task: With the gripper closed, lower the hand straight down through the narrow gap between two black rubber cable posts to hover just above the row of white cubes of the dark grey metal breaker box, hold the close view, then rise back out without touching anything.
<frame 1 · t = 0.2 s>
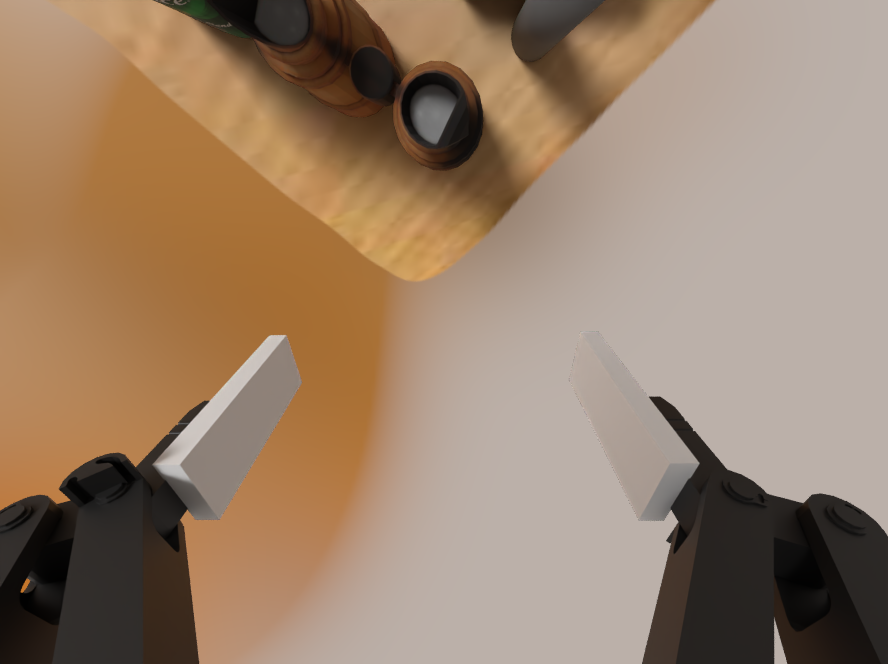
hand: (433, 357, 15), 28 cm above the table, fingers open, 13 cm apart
post 1: (532, 33, 30), on the table
binoculars: (399, 97, 32), on the table
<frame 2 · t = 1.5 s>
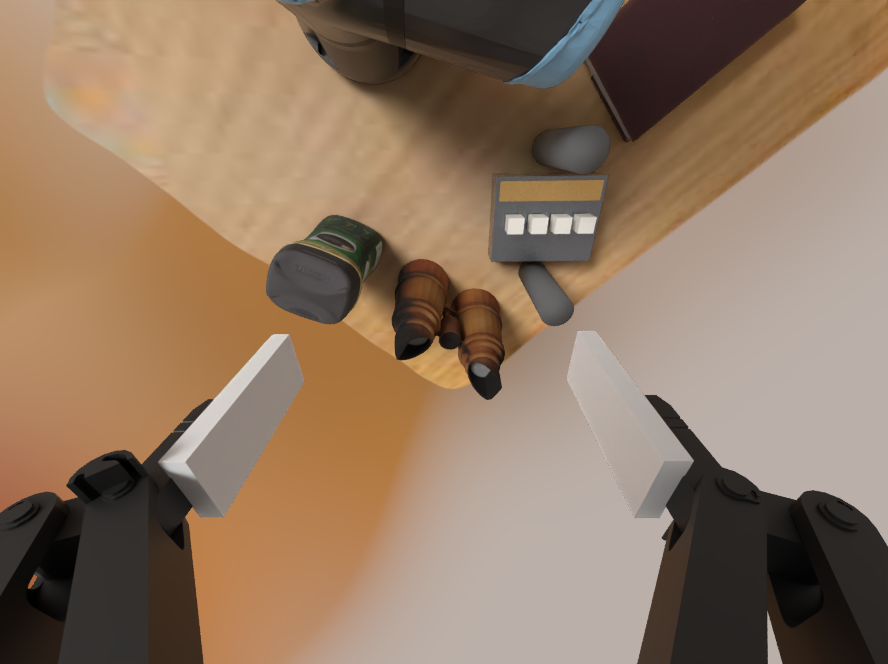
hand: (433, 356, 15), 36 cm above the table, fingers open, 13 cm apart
coffee jar: (352, 244, 49), on the table
row of white cubes: (548, 223, 41), point 6 cm above the table, hinge at 0.0°
post 1: (531, 271, 50), on the table
binoculars: (449, 297, 53), on the table
breaker box: (538, 215, 46), on the table
post 2: (547, 147, 42), on the table
book: (676, 31, 36), on the table
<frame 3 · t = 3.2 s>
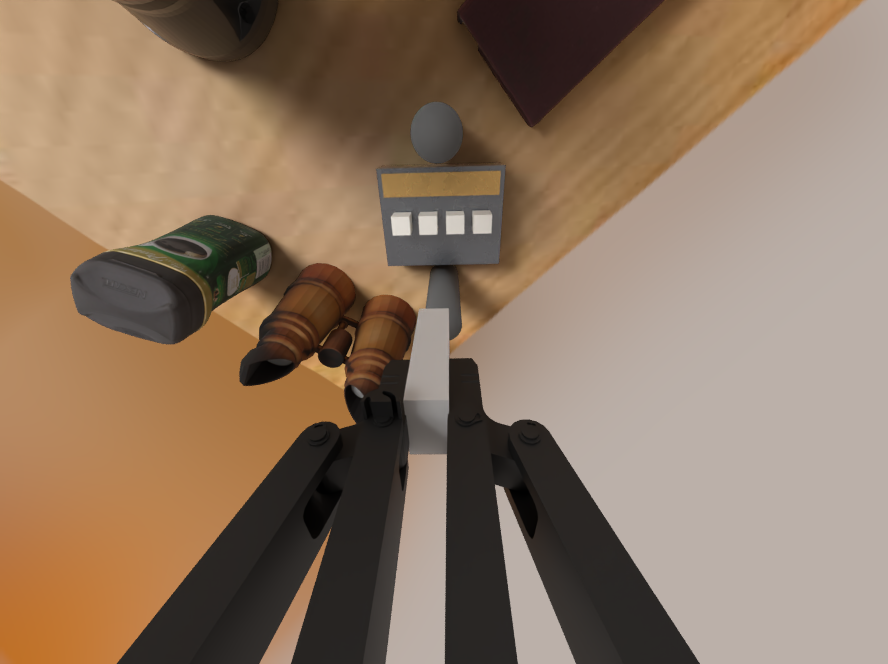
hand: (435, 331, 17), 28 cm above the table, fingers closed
coffee jar: (239, 247, 44), on the table
row of white cubes: (441, 222, 36), point 6 cm above the table, hinge at 0.0°
post 1: (444, 275, 45), on the table
binoculars: (359, 304, 48), on the table
breaker box: (442, 212, 41), on the table
post 2: (440, 134, 36), on the table
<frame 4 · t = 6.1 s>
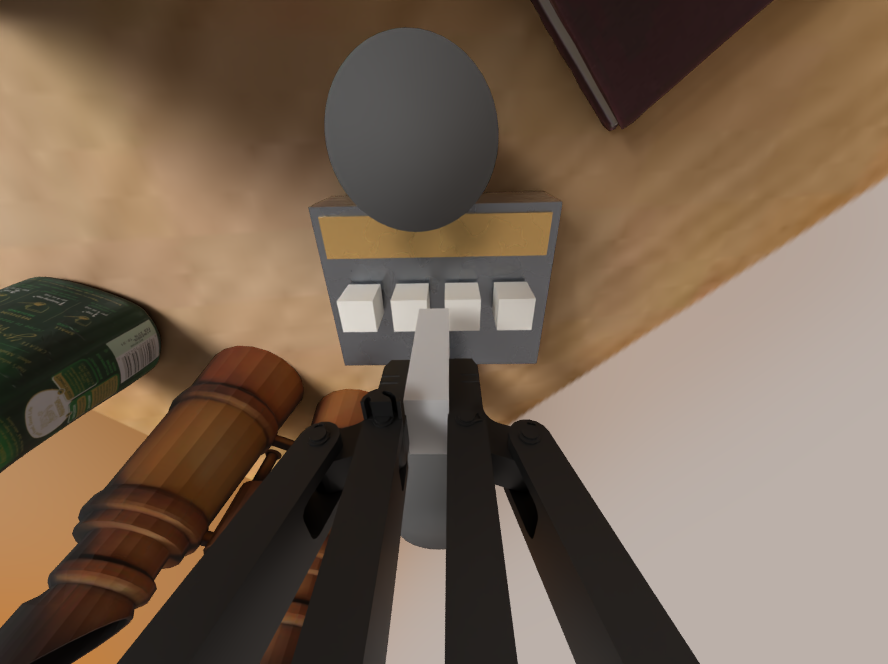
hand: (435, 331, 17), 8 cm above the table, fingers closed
coffee jar: (108, 322, 27), on the table
row of white cubes: (436, 306, 19), point 6 cm above the table, hinge at 0.0°
post 1: (442, 363, 28), on the table
binoculars: (310, 400, 31), on the table
breaker box: (439, 273, 24), on the table
post 2: (434, 140, 19), on the table
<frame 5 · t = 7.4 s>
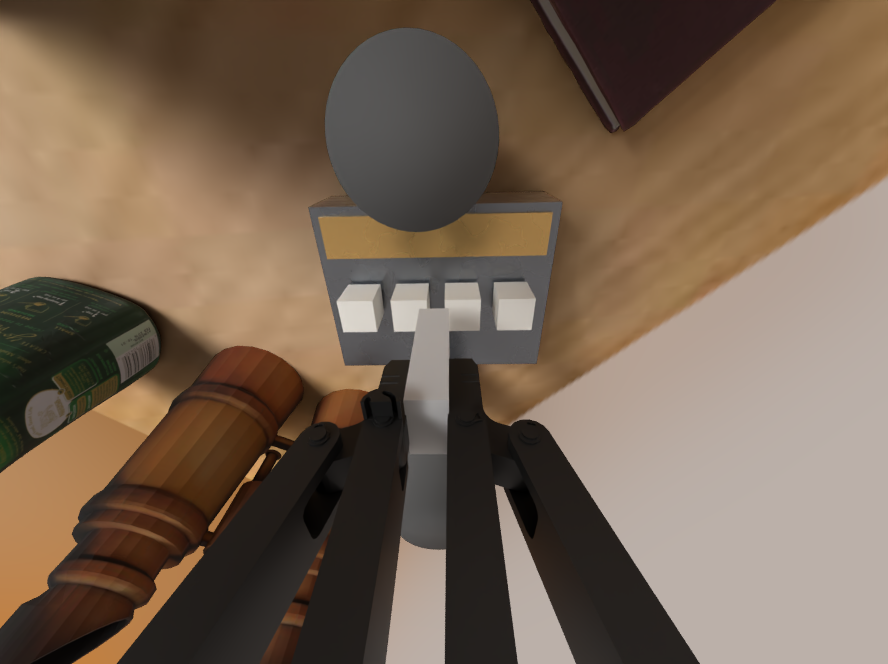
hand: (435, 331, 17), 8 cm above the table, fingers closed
coffee jar: (108, 322, 27), on the table
row of white cubes: (436, 306, 19), point 6 cm above the table, hinge at 0.0°
post 1: (442, 363, 28), on the table
binoculars: (310, 400, 31), on the table
breaker box: (439, 273, 24), on the table
post 2: (434, 140, 19), on the table
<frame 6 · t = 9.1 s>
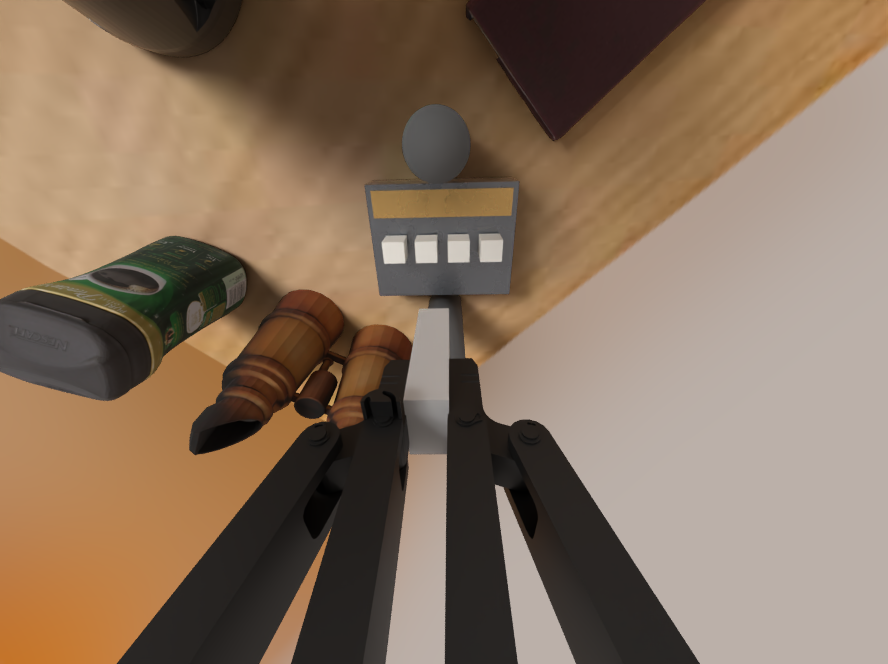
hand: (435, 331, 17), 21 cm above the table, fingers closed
coffee jar: (210, 271, 38), on the table
row of white cubes: (442, 248, 30), point 6 cm above the table, hinge at 0.0°
post 1: (445, 303, 39), on the table
binoculars: (348, 334, 42), on the table
breaker box: (443, 233, 35), on the table
post 2: (441, 144, 31), on the table
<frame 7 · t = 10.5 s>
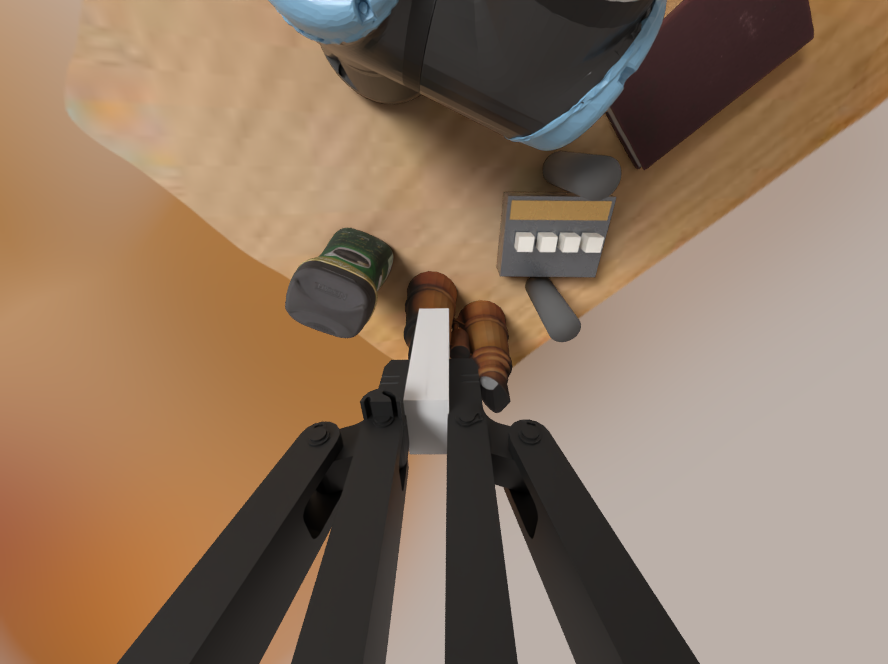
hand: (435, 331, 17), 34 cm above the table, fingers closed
coffee jar: (363, 255, 50), on the table
row of white cubes: (557, 242, 43), point 6 cm above the table, hinge at 0.0°
post 1: (537, 285, 52), on the table
binoculars: (457, 308, 54), on the table
breaker box: (546, 232, 47), on the table
post 2: (557, 168, 43), on the table
book: (686, 66, 38), on the table
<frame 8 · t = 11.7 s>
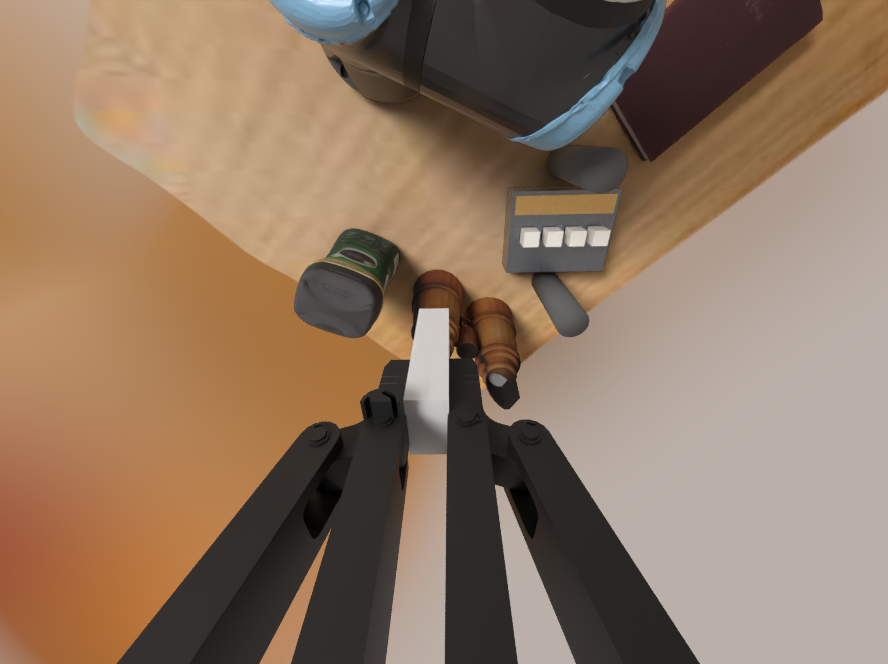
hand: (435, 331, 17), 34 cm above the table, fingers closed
coffee jar: (369, 256, 50), on the table
row of white cubes: (563, 236, 42), point 5 cm above the table, hinge at 0.0°
post 1: (544, 280, 52), on the table
binoculars: (463, 305, 54), on the table
breaker box: (552, 226, 47), on the table
post 2: (561, 162, 43), on the table
book: (691, 54, 37), on the table
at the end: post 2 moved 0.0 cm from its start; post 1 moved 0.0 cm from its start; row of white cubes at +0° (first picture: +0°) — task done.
